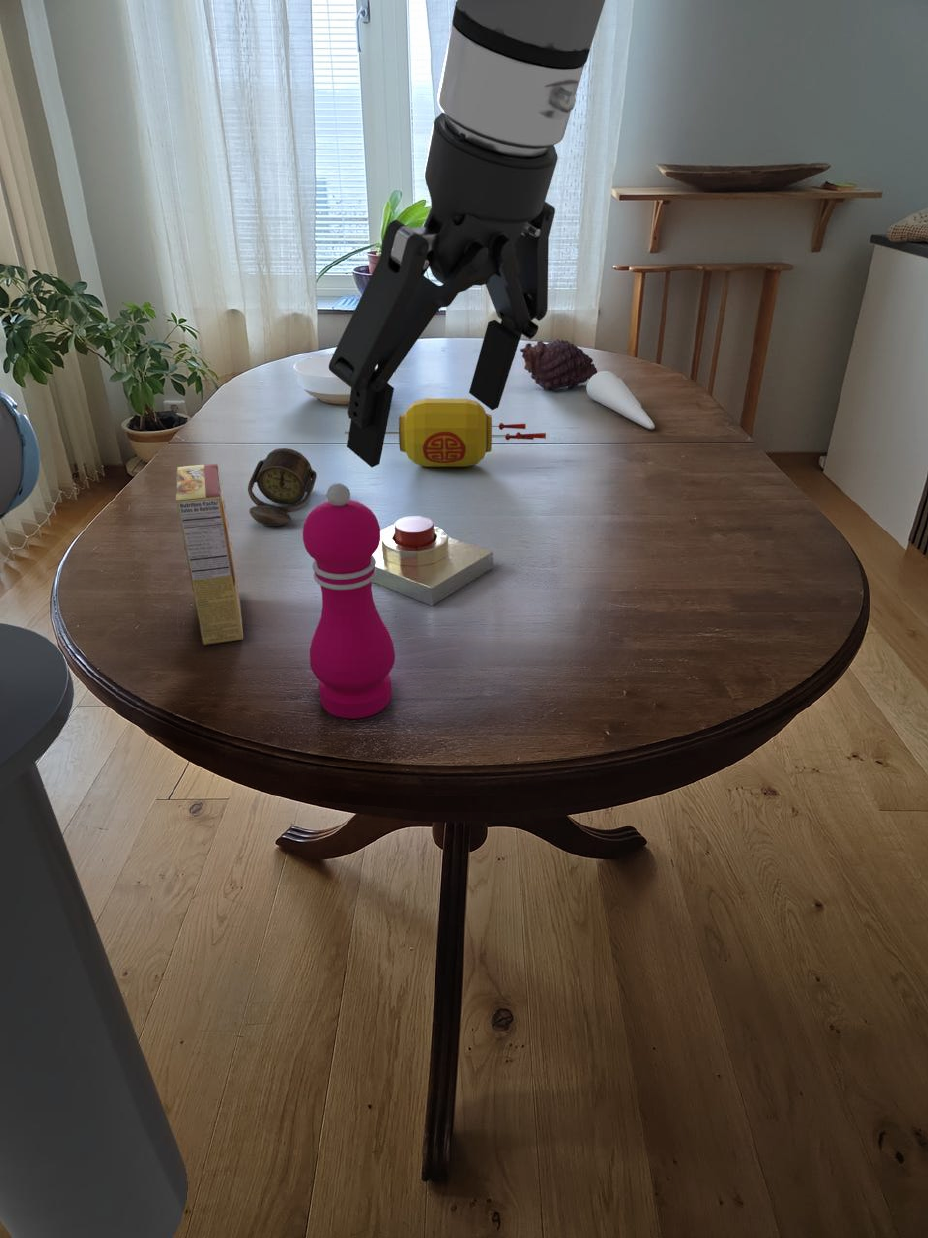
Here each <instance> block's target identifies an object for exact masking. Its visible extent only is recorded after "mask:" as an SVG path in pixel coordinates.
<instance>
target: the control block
mask: <svg viewBox="0 0 928 1238" xmlns="http://www.w3.org/2000/svg"><path fill="white" fill-rule="evenodd" d="M373 556H374V557H375V559H376V566H375V568H376V571H377V574H376V577H375V579H374V580H373V581H372V584H373V583H374V584H376V585H379V586H380V587H383V588H387V589H389V590H391V591H393V592H396V593H398V594H401V595H404V596H406V597H409V598H411V599H413V600H417V601H419V602H421V603H424V604H427V605H428V606H432V607H433V606H434V605H436V604H437V603H439V602H440V601H443V600H444V599H445V598H447V597H449V596H451V595H452V594H453V593H455V592H457V591H459V590H460V589H462V588H463V587H465V586H467V585H469V584H470V583H471V582H473V581H475V580H476V579H478V578H480V577H481V576H482V575H485V574H486V573H487V572H489V571H490V570H492V569H493V568H494V567H493V566H494V551H493V550H490V549H487V548H485V547H481V546H478V545H475V544H472V543H469V542H466V541H463V540H460V539H457V538H454V537H451V536H449V535H448V533H446V532H445V531H444V529H442V528H441V527H437V526H435V525H434V542H433V543H431V544H429V545H426V546H420V547H405V546H402V545H399V544H396V542H395V523H394V524H392V525H390V526H388V527H386V528H383V529H381V530H380V543H379V546H378V548H377V550H376V551H375V552H374V554H373Z"/></svg>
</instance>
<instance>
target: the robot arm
mask: <svg viewBox="0 0 928 1238" xmlns="http://www.w3.org/2000/svg"><path fill="white" fill-rule="evenodd" d="M605 2H606V0H456V1H455V5H454V10H453V11H454V12H453V14H452V20H451V25H450V31H449V35H448V41H447V46H446V50H445V55H444V62H443V66H442V70H441V71H442V72H441V77H440V80H439V81H440V82H439V86H438V87H439V88H438V93H437V105H438V106H439V108H440V110H441V113H440V114H439V115H438V116H436V117H435V119H433V124H432V130H431V134H430V135H431V136H430V141H429V145H428V151H427V157H426V162H425V168H424V174H423V176H424V182H425V185H426V188H427V190H428V193H429V197H430V201H431V205H430V209H429V212H428V214H427V216H426V217H425V218H426V219H425V221H424V222H423V224H422V226H416V227H415V226H414V227H409V226H408V225H406V224H405V223H403V222H402V221H400V220H399V219H393V220H392V221H390V222H389V224H388V225H387V227H386V230H385V235H384V238H383V242H382V246H381V251H380V255H379V259H378V261H377V263H376V265H375V267H374V269H373V271H372V273H371V275H370V277H369V280H368V282H367V283H366V286H365V287H364V289H363V291H362V294H361V296H360V298H359V300H358V303H357V305H356V307H355V309H354V310H353V313H352V314H351V317H350V319H349V320H348V323H347V326H346V327H345V329H344V332H343V333H342V335H341V337H340V339H339V342H338V344H337V346H336V348H335V350H334V352H333V353H332V354H333V356H332V358H331V360H330V363H329V370H330V371H331V372H332V373H333V374H335V375H336V376H337V377H338V378H340V379H341V380H342V381H343V382H345V383H346V384H347V385H348V386H350V387H351V392H350V399H349V400H350V401H349V404H348V407H347V416H348V419H350V423H349V429H348V432H349V434H348V436H347V443H346V448H348V449H349V450H350V451H351V452H352V453H354V454H355V455H356V456H357V457H358V458H359V459H361V460H362V461H363V462H364V463H366V464H367V465H368V466H369V467H370V468H375V467H376V466H378V465H380V463H381V458H382V453H383V449H384V448H383V447H384V442H385V438H386V434H385V433H386V432H387V427H388V421H389V418H390V412H391V407H392V402H393V396H394V392H395V388H394V387H393V386H392V384H391V385H389V384H388V383H387V382H388V381H389V379H390V378H391V377H392V375H393V374H394V372H395V371H396V372H397V370H398V368H399V367H400V366H401V364H402V362H403V361H404V360H405V358H406V357H407V356H408V353H409V352H410V351H411V350H412V348H413V347H414V346H415V344H416V343H417V341H418V340H419V338H420V337H421V335H422V334H423V333H424V331H425V330H426V328H427V327H428V325H429V324H430V323H431V321H432V320H433V318H434V317H435V316H436V314H437V313H438V311H439V310H440V309H441V308H447V307H449V306H450V305H451V304H452V303H453V302H454V300H455V299H456V298H457V296H458V295H459V293H462V292H463V293H464V292H465V291H468V290H469V289H470V288H472V287H474V286H479V287H481V286H484V285H485V286H486V290H487V292H488V295H489V297H490V300H491V302H492V305H493V308H494V311H495V313H496V316H497V318H498V319H500V321H498V320H496V319H492V320H490V321H488V323H487V326H486V330H485V334H484V337H483V340H482V344H481V348H480V350H479V351H480V352H479V354H478V358H477V362H476V366H475V368H474V373H473V376H472V380H471V384H470V386H469V390H468V394H470V395H471V396H472V397H474V398H475V399H476V400H477V401H478V402H481V403H482V404H483V405H485V406H486V407H487V408H488V409H490V410H491V411H494V410H497V409H499V406H500V403H501V400H502V398H503V397H502V396H503V394H504V390H505V387H506V385H507V382H508V379H509V375H510V371H511V369H512V365H513V363H514V360H515V357H516V355H517V354H516V353H517V351H518V347H519V344H520V341H521V337H522V336H524V337H526V338H527V339H528V340H532V339H533V338H534V337H535V336H536V334H538V331H539V325H538V324H537V323H536V322H534V321H533V320H534V319H535V320H537V321H539V322H540V321H542V320H543V319H544V318H545V317H546V315H547V313H548V309H549V307H548V305H549V251H550V250H549V247H550V246H549V242H550V241H549V240H550V239H549V238H550V234H551V230H552V225H553V222H554V218H555V214H556V208H555V207H554V206H553V205H551V204H549V203H548V202H546V201H547V196H548V193H549V190H550V186H551V182H552V179H553V176H554V172H555V169H556V167H557V162H558V159H559V158H558V157H559V156H558V154H557V150H556V148H555V145H557V144H559V143H560V142H561V141H562V140H563V139H564V137H565V134H566V131H567V127H568V123H569V120H570V116H571V112H572V111H573V110H574V108H575V105H576V103H577V98H576V97H577V92H578V88H579V85H580V81H581V77H582V75H583V71H584V68H585V64H586V63H587V61H588V58H589V54H590V51H591V48H592V44H593V40H594V38H595V35H596V31H597V28H598V25H599V22H600V19H601V15H602V12H603V9H604V5H605ZM428 269H430V271H431V274H432V276H433V278H435V280H437V282H439V283H441V284H440V285H438V284H437V283H435V282H434V281H432V280H431V279H429V278H428V277H427V276H425V274H426V272H427V271H428ZM377 364H378V367H377V369H375V368H376V366H377ZM17 409H18V404H17V402H16V401H15V400H14V399H13V398H12V397H10V396H9V395H8V394H6V392H4V391H2V389H0V521H1V520H2V519H3V518H4V517H6V515H8V514H9V513H10V512H11V511H13V510H15V509H16V508H18V507H19V506H21V504H23V503H24V502H26V500H28V498H29V497H30V495H32V492H33V491H34V489H35V487H36V485H37V482H38V479H39V475H40V470H41V454H40V446H39V443H38V439H37V436H36V433H35V430H34V429H33V426H32V424H31V422H30V420H29V419H28V417H27V415H26V414H24V413H20V412H18V411H17Z"/></svg>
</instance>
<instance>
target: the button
mask: <svg viewBox="0 0 928 1238" xmlns="http://www.w3.org/2000/svg"><path fill="white" fill-rule="evenodd" d="M394 524H395V542H396V544H399V545H402V546H405V547H420V546H426V545H429V544H431V543H433V542H434V526H435V523H434V521H433V520H432V519H431V518H429V517H426V516H420V515H411V516H404V517H401V518H399V519H397V520H396V521H395V522H394Z"/></svg>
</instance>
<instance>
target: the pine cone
mask: <svg viewBox="0 0 928 1238" xmlns="http://www.w3.org/2000/svg"><path fill="white" fill-rule="evenodd" d="M519 352H520V353H522V354H521V358H523V359H524V367H523V368H524V370H526V371H527V372H528V374H530V378H531V379H532V380H534V382H535V384H536V385H539V386H540V387H541V388H545V389H546V390H547V391H549V390H552V389H553V390H554V391H557V390H559V389H560V388H564V389H565V388H567V387H568V388H569V387H577V386H578V385H579V384H585V383H587V382H588V381H589V379H590V378H591V377H592V376H593V375H594V374H596V373H598V370H597V367H596V366H595V364H594V363H593V361H594V359H593V358H592V357H590V356H589V355H588V354H586V353H585V352H584V351H583V349H581V348H579V347H578V346H577V345H575V344H574V343H572V342H571V343H570V341H568V340H564V339H561V340H560V339H556V340H553V341H549V342H548V343H545V342H543V340H539V341H537V342H536V344H535V345H534V346H532V343H526V344H525V345H524V347H523V348H520V349H519Z"/></svg>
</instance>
